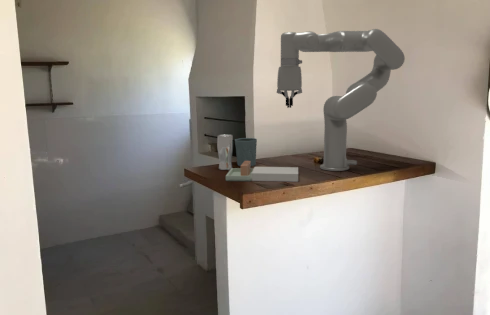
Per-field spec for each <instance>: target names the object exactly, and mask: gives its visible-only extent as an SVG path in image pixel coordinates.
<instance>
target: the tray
mask: <svg viewBox="0 0 490 315" xmlns="http://www.w3.org/2000/svg"><path fill="white" fill-rule="evenodd" d="M253 169H254V168H251V173H252V171H253ZM251 173H250V175H249V176H241V167H240V168H239V167H237V168H236V167H235V168H233V167H232V168H231V170H228V172H227V173H226V175H225V181H226V182H251V181H252V179H251Z"/></svg>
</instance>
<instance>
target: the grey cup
mask: <svg viewBox="0 0 490 315" xmlns="http://www.w3.org/2000/svg"><path fill="white" fill-rule="evenodd" d="M257 140H258V139H257V138H255V137H254V138H253V137H241V138H235V139H234V145H235V153H236V155H235V156H236V164H237V166H238V167H241V165H242V163H243V162H244V161H251V167H256V165H257V160H256V159H257V144H258V142H257Z"/></svg>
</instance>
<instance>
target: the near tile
mask: <svg viewBox="0 0 490 315" xmlns="http://www.w3.org/2000/svg"><path fill="white" fill-rule="evenodd" d="M240 168H241V176H249V164H247V163H242V165H241V166H240Z"/></svg>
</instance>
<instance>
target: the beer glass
mask: <svg viewBox="0 0 490 315" xmlns="http://www.w3.org/2000/svg"><path fill="white" fill-rule="evenodd" d="M233 138H234V137H233V134H218V135H217V141H216V143H217V144H216V145H217V146H216V147H217V148H216V149H217V154H218V159H219V164H218V170H220V171H230V170H231V168H233V164H232V158H233V150H234V139H233Z"/></svg>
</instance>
